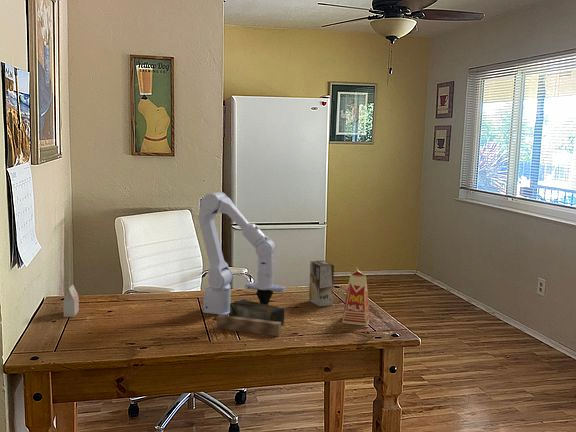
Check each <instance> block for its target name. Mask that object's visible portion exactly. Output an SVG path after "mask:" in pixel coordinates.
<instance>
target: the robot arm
mask: <svg viewBox="0 0 576 432" xmlns="http://www.w3.org/2000/svg"><path fill="white" fill-rule="evenodd" d="M199 204H200V207H199V211H198V216H197V220H198V223H199V226H200V231H201V234H202V238H203V243H204V246H205V250H206V254H207V258H208V262H209V266H208V270H207V272H208V273H207V274H208V279H207V280H208V281H207V282H208V285H209V286H206V287H205V289H204V291H203V310H202V314H203V313H205V314H213V315H227V316H228V315H230V303H231V295H232V294H231V293H232V292H231V289H232V288H231V283H232V282H233V279H234V273H233V271H232V269H230V266H229V264H228V263H227V262H226V261H225V258H224V254H223V250H222V246H221V243H220V239H219V234H218V230H217V226H216V223H215V217H216V216H217V215H218V214H219V213H220V214H223V215H225V214H226V215H227V216H228V217H229V218H230V219H231V220H232V221H233V222H234V223H235V224H236V225H237V226H238V227H239V228H240V229H241V230H242V236H243V237H244V238H245V239H246V240H247V241H248V242H249V243H250V244H251V246H252V247H253V248H255V251H254V252H255V253H256V255H257V273H256V275H257V278H256V282H246V283H245V285H244V289H245V290H255V291H256V292H255V295H256V296H257V298H258V301H259V303H261V304H266V305H270V300H271V298H272V296H273V294H274V292H275V293H280V294H285V292H286V286H284V285H283V286H281V285H278V284H274V267H275V266H274V264H275V261H274V258H275V257H274V253H275V252H276V248H277V245H276V243H275V241H274V240H273V239H271V238H269V236H268V235H266V234H264V232H262V230H261V229H260V226H259V225H258V224H255V223H250V222H249V220H248V219H247V218H246V217H245V216H244V215H243V213H242V212H241V211H240V210H239V209H238V208H237V206H236V205H235V204H234V203H233V200H232V199H231V198H230V197H229V196H227V194H226V193H224V192H223V191H220V190H219V191H218V190H217V191H216V192H212V193H206V194H205V195H204V196H203V197H202V198H201V200H200V201H199Z"/></svg>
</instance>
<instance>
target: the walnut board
mask: <svg viewBox="0 0 576 432" xmlns="http://www.w3.org/2000/svg"><path fill="white" fill-rule="evenodd" d="M216 329H219V330H220V329H221V330H227V331H236V332H243V333H251V334H258V335H268V336H273V337H274V336H276V337H279V336H280V335H282V325H281V322H276V321H268V320H260V319H252V318H244V317H235V316H230V315H228V314H227V315H220V314H217V316H216Z"/></svg>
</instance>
